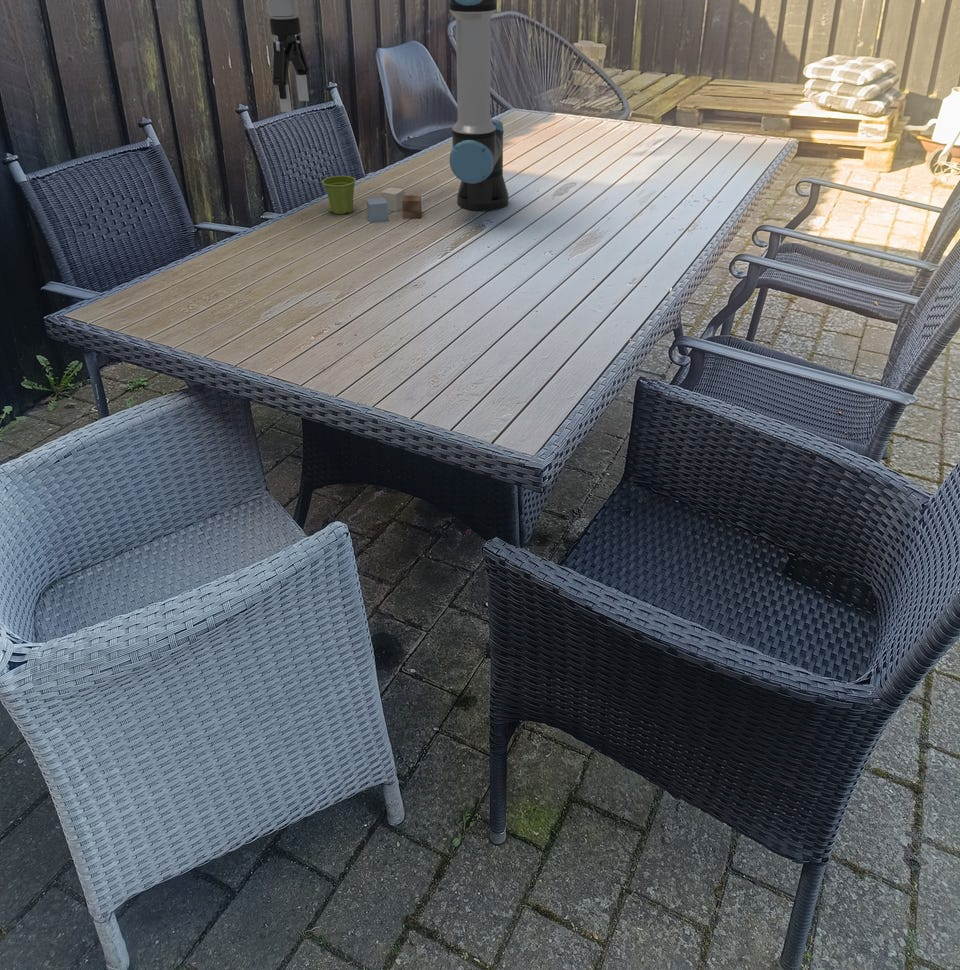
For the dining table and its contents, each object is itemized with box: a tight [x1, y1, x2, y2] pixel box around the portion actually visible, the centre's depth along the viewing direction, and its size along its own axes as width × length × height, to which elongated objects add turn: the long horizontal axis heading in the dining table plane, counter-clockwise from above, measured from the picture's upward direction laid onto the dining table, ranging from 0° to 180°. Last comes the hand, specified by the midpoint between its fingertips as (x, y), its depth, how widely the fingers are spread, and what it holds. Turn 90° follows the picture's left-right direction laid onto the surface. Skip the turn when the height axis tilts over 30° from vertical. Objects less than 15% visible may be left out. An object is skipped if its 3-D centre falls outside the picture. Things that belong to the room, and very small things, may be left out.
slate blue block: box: [365, 197, 389, 223], centre depth 236 cm, size 5×5×5 cm
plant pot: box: [322, 175, 357, 215], centre depth 240 cm, size 9×9×9 cm
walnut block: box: [402, 194, 423, 220], centre depth 238 cm, size 5×5×5 cm
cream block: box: [380, 187, 406, 212], centre depth 243 cm, size 5×5×5 cm
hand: (295, 106), depth 227 cm, fingers open, 13 cm apart
